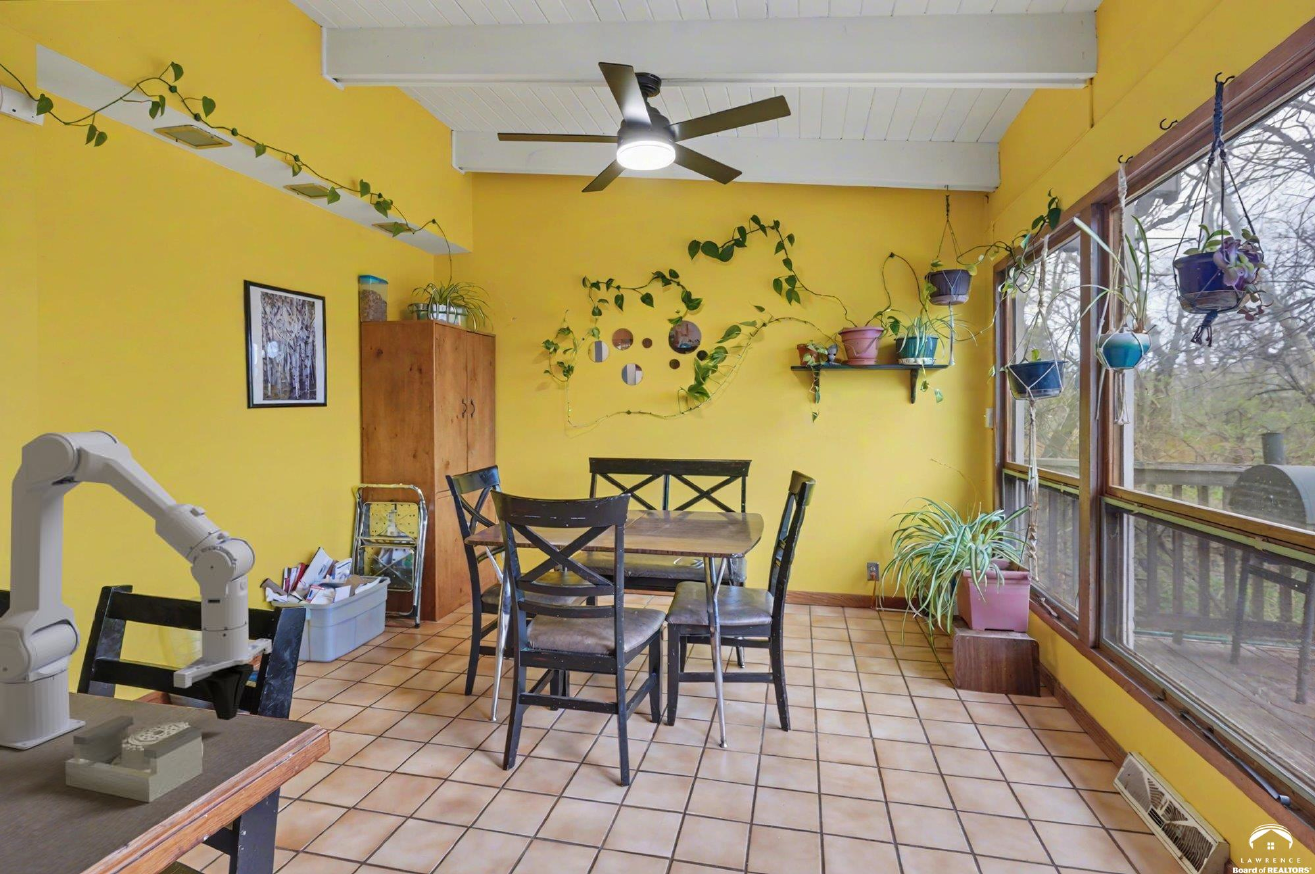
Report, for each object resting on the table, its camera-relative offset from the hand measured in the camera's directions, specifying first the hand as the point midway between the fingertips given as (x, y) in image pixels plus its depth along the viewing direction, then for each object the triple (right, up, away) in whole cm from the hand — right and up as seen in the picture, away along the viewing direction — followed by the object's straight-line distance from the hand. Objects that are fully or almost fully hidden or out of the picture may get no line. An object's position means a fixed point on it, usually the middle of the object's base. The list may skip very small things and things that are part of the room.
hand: (226, 717), depth 101 cm
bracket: (-4, -3, -13) cm, 14 cm away
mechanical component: (-3, -3, -9) cm, 10 cm away
